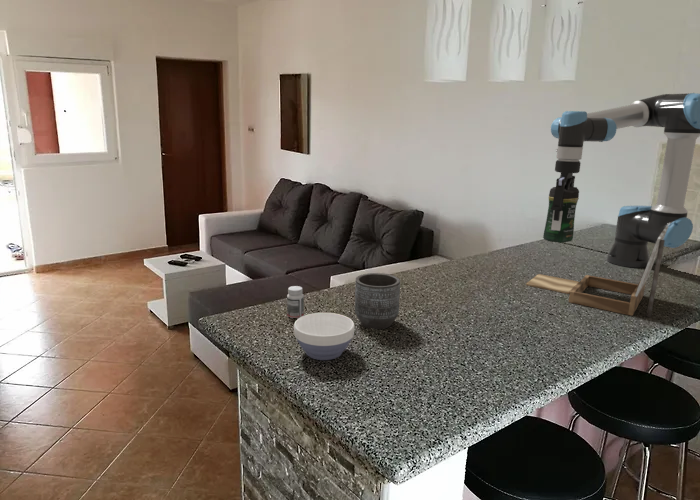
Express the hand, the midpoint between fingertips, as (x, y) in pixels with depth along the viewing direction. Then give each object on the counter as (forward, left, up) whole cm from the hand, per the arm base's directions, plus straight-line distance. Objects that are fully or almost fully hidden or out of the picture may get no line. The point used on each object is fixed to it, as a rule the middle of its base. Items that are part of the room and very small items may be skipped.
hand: (559, 227), depth 174 cm
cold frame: (+4, +20, -20) cm, 29 cm away
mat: (0, 0, -20) cm, 20 cm away
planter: (+67, -29, -20) cm, 76 cm away
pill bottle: (+77, -50, -20) cm, 94 cm away
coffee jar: (0, 0, -5) cm, 5 cm away
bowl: (+90, -29, -20) cm, 97 cm away
